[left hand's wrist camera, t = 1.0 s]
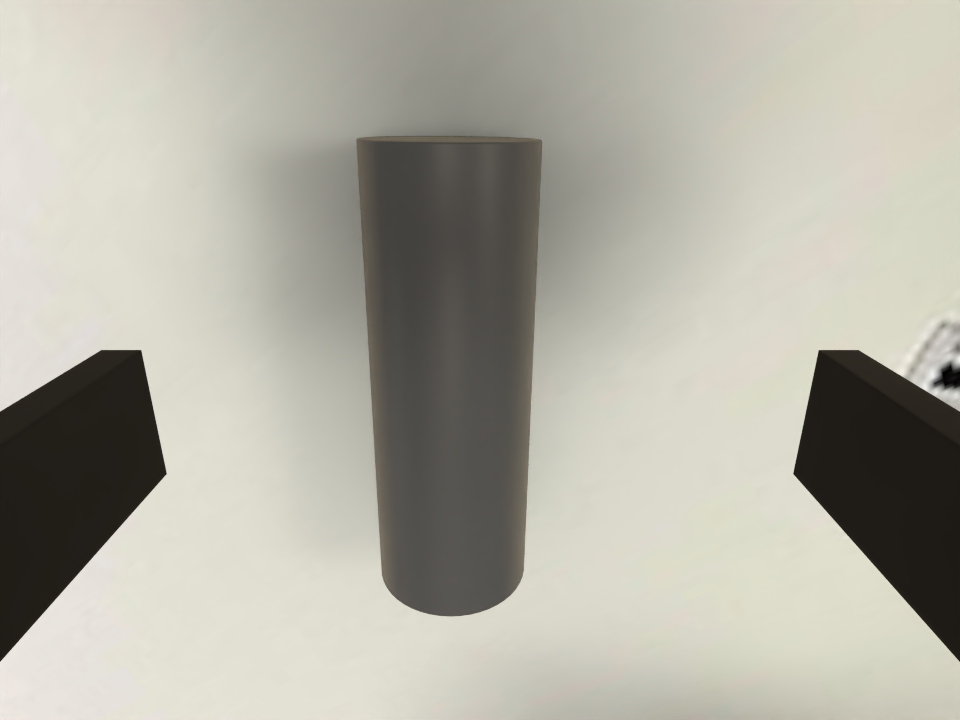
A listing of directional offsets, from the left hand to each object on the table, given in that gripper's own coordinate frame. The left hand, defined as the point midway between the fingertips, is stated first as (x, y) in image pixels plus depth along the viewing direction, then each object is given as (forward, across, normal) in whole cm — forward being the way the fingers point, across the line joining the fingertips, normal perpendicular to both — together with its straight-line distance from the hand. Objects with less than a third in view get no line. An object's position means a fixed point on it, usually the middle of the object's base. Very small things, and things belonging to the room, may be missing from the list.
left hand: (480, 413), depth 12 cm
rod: (+21, -1, -6) cm, 22 cm away
